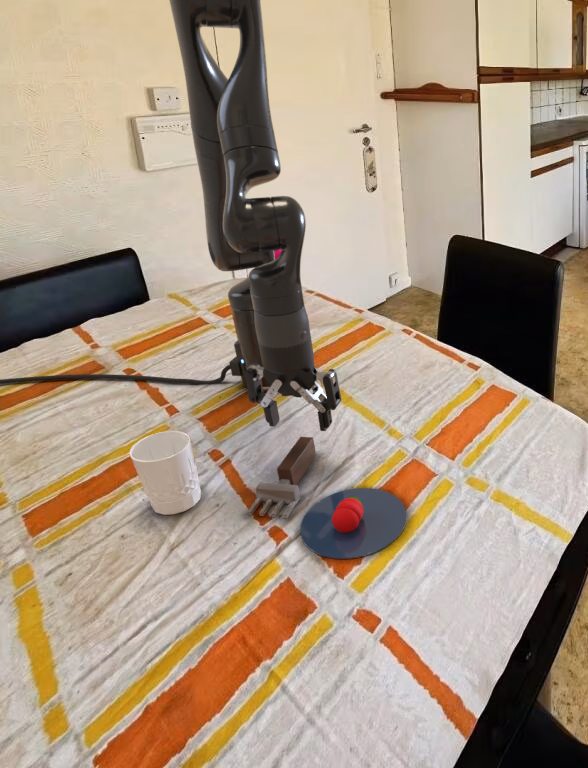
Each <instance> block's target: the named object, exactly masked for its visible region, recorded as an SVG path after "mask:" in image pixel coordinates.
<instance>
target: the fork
mask: <svg viewBox="0 0 588 768" xmlns="http://www.w3.org/2000/svg"><path fill="white" fill-rule="evenodd" d="M316 456H317V453H316V446H315V440H314V437H313V436H311V437H310V436H300V437H299V438H298V439H297V440H296V442H295V443H294V445H293V446H292V448H290V450H289V452H288V453H287V454H286V456H285V457H284V458H283V460H282V461H281V462H280V463H279V465H278V466H277V468H276V471H277V476H278V480H279V481H278V482H277V483H276V482H275V483H274V482H265V481H264V482H263V481H260V482H259V483H258V484H257V486H256V487H255V492H256V497H257V498H255V500H254V501H253V503H252V504H251V506H250V507H249V508H248V509H247V515H248V516H253V515H254V513H255V512H256V510H257V509H258V507H259V506H260V505H261V503H262V502H265V503H264V504H263V506H262V508H261V509H260V510H259V512H258V514H259V516H260V517H264V516H265V515H266V513H267V512H268V510H269V509H270V508H271V506H272V505H273V504H274V503H277V504H276V505H275V506H274V507H273V509H272V511H271V512H270V516H271V518H276V517H277V515H278V514H279V513H280V511H281V510H282V508H283V506H284V505H285V504H288V505H287V507H286V509H285V510H284V512H283V513H282V518H283V519H288V518H289V516H290V514H291V513H292V512H293V510H294V509H295V507H296V505H297V503H298V502H299V500H300V499H301V495H300V488H299V485H298V483H299V482H300V480H301V478H302V477H304V474H305V473H306V472H307V470H308V468H309V467H310V465H311V464H312V462H313V461H314V459H315V458H316Z"/></svg>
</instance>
